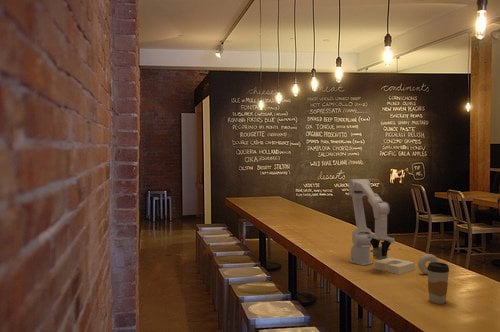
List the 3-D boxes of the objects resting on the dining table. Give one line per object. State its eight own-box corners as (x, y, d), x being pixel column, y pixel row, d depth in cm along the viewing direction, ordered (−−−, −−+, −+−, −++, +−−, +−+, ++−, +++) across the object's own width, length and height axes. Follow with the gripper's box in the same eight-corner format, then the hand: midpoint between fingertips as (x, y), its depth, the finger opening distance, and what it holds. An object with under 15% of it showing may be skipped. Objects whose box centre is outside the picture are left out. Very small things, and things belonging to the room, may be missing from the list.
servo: (369, 259, 249) (370, 247, 249) (383, 255, 256) (383, 244, 256) (376, 260, 246) (376, 249, 246) (390, 257, 253) (390, 246, 253)
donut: (419, 275, 246) (419, 254, 245) (416, 273, 249) (417, 253, 249) (440, 275, 246) (440, 254, 245) (437, 273, 249) (437, 253, 249)
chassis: (374, 268, 258) (374, 261, 258) (390, 264, 267) (390, 257, 267) (399, 274, 247) (399, 267, 247) (414, 269, 256) (414, 262, 256)
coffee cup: (443, 298, 211) (444, 261, 210) (452, 304, 203) (453, 267, 202) (423, 298, 211) (424, 261, 210) (431, 304, 202) (432, 267, 202)
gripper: (363, 226, 253) (363, 253, 254) (388, 230, 242) (388, 259, 243) (372, 224, 258) (371, 251, 259) (397, 228, 247) (396, 256, 248)
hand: (380, 255), depth 251 cm, fingers closed on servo, 4 cm apart
